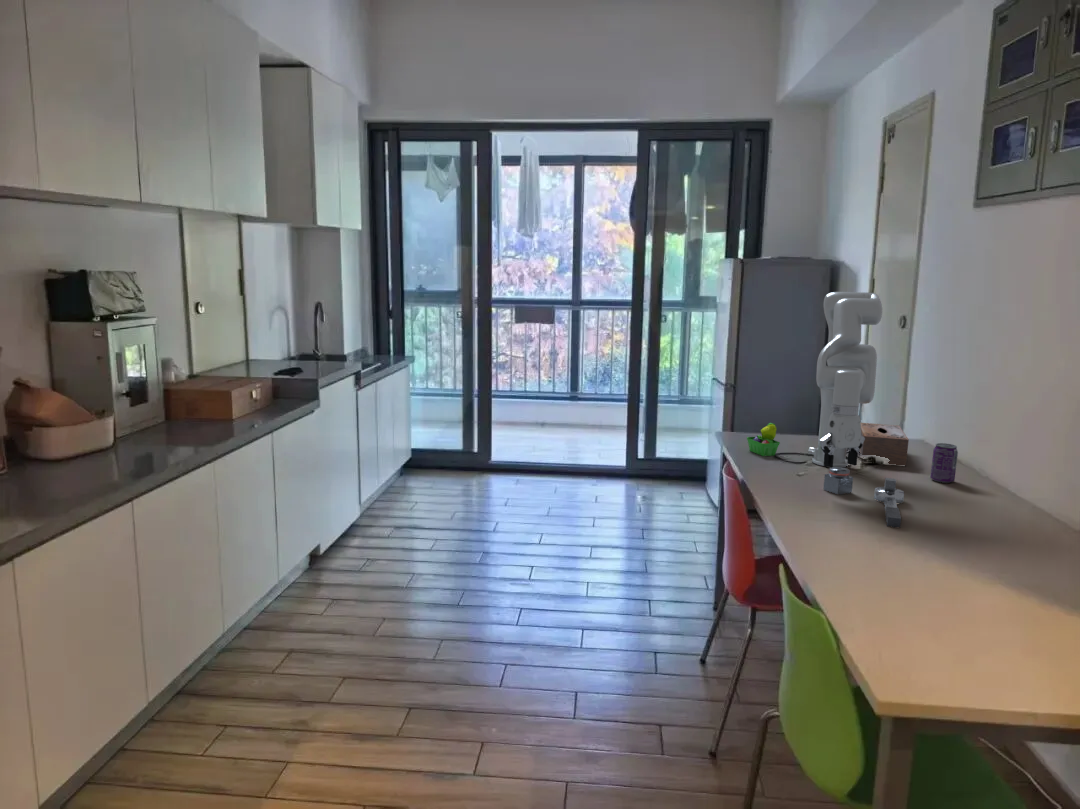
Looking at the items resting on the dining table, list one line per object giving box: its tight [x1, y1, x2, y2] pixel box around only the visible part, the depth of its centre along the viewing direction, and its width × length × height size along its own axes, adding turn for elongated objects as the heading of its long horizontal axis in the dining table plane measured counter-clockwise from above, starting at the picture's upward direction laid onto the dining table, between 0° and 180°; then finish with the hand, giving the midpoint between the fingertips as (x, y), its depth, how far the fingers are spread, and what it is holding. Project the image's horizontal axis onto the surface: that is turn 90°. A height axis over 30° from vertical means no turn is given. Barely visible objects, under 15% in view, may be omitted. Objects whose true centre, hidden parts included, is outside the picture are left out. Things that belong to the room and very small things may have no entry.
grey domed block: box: [822, 467, 854, 495], centre depth 238 cm, size 6×6×7 cm
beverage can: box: [930, 442, 959, 484], centre depth 252 cm, size 7×7×12 cm
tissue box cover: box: [860, 422, 909, 466], centre depth 284 cm, size 26×14×10 cm, turn 162°
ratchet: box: [873, 477, 905, 528], centre depth 220 cm, size 30×8×6 cm, turn 159°
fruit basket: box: [746, 422, 781, 457], centre depth 285 cm, size 11×9×11 cm
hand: (840, 465), depth 237 cm, fingers open, 9 cm apart
